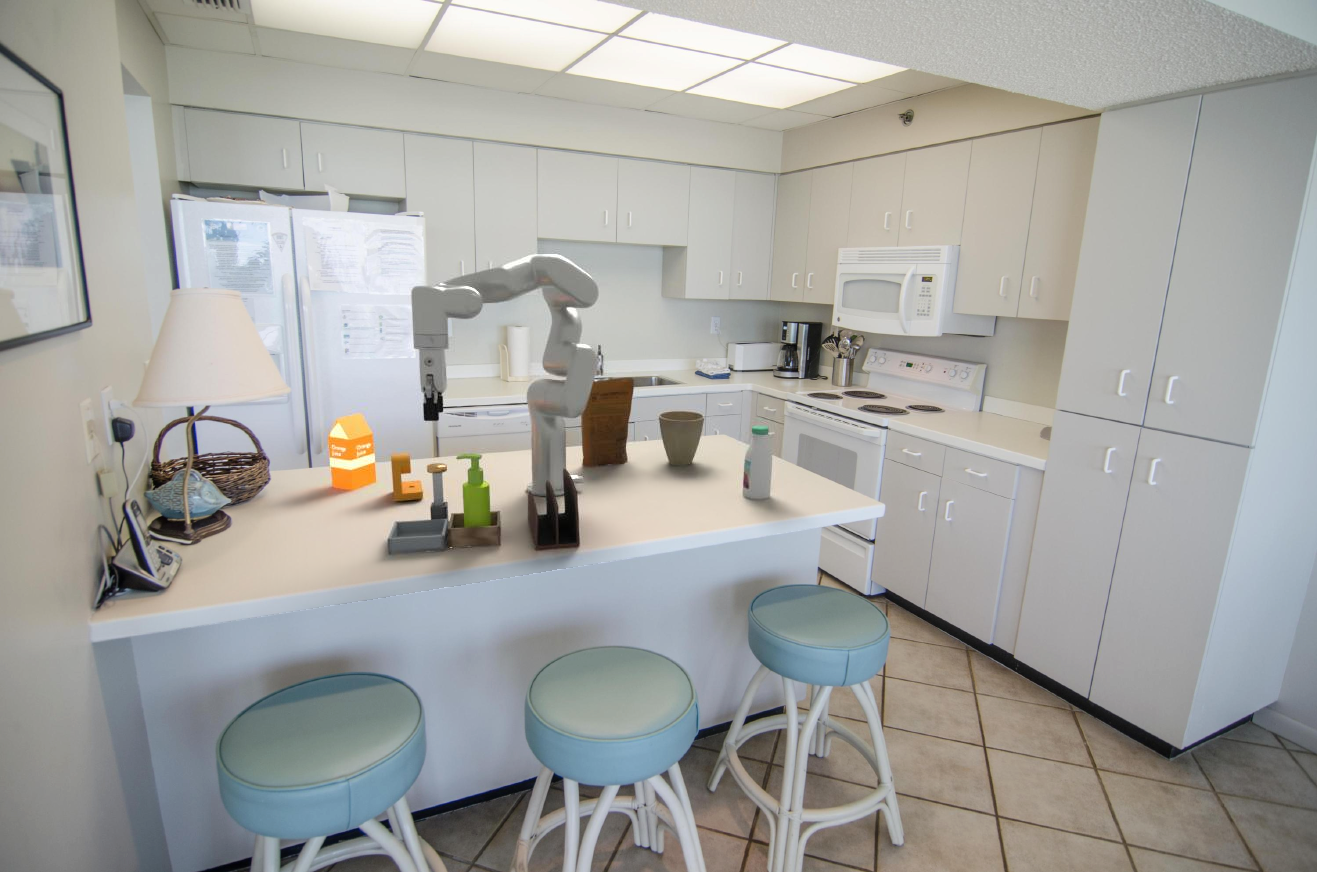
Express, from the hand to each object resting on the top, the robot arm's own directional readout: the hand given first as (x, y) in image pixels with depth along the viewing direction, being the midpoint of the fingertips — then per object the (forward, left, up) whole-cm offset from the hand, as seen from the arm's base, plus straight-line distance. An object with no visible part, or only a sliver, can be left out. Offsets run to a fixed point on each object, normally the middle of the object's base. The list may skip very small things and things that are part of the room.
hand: (433, 416), depth 155 cm
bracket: (+10, -25, -28) cm, 38 cm away
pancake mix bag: (-48, -49, -27) cm, 73 cm away
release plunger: (0, +1, -24) cm, 24 cm away
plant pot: (-72, -47, -27) cm, 90 cm away
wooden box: (-9, +8, -27) cm, 30 cm away
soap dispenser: (-9, +8, -27) cm, 30 cm away
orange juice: (+26, -38, -28) cm, 53 cm away
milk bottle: (-85, -11, -27) cm, 90 cm away
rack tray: (+4, +9, -27) cm, 29 cm away
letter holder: (-26, +8, -28) cm, 39 cm away
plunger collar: (0, +1, -27) cm, 27 cm away
